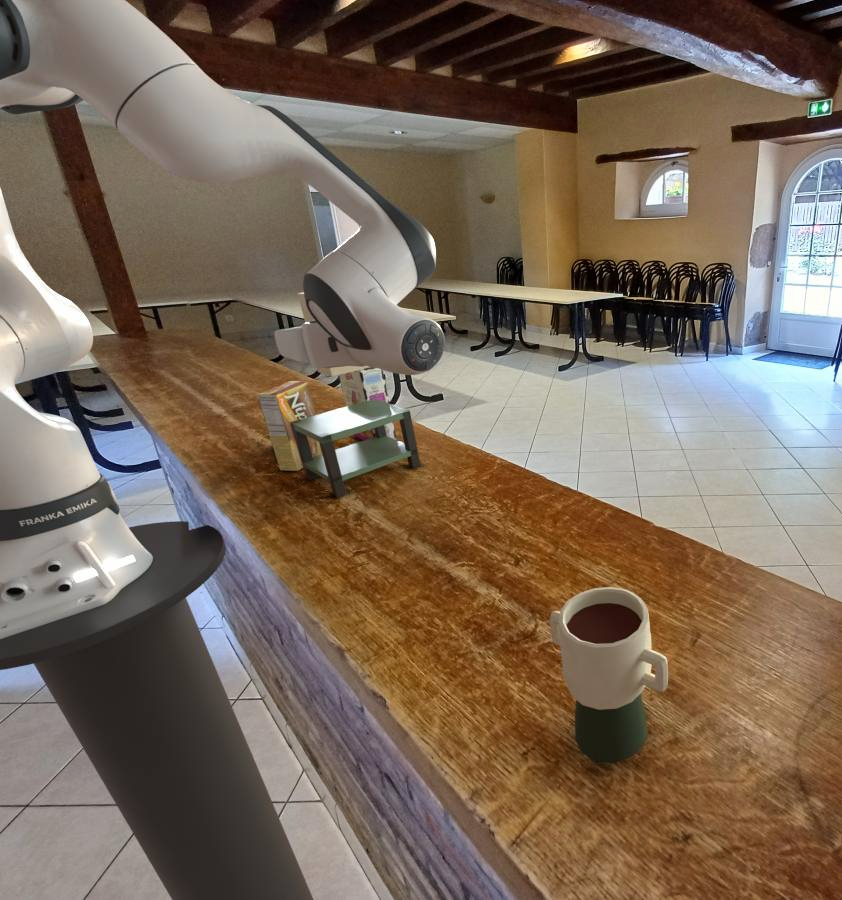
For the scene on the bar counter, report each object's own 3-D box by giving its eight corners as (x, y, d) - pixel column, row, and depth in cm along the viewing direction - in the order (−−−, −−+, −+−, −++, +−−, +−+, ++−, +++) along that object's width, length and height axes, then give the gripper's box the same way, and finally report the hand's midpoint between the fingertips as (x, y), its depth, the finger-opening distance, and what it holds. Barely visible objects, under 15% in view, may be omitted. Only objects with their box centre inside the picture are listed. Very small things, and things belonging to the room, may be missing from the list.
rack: (337, 497, 93) (321, 437, 89) (306, 478, 102) (289, 422, 97) (420, 465, 104) (409, 410, 100) (386, 450, 112) (375, 398, 108)
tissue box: (332, 376, 90) (311, 293, 85) (317, 372, 93) (297, 292, 88) (364, 369, 94) (346, 289, 89) (349, 365, 97) (331, 288, 92)
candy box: (308, 453, 113) (288, 380, 107) (327, 453, 113) (307, 380, 107) (279, 471, 105) (255, 394, 99) (299, 471, 105) (276, 394, 99)
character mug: (687, 733, 47) (688, 611, 42) (646, 802, 42) (642, 672, 37) (583, 683, 53) (574, 570, 48) (536, 738, 48) (519, 617, 43)
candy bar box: (399, 440, 117) (383, 364, 111) (377, 448, 114) (359, 370, 108) (373, 430, 124) (357, 358, 118) (352, 436, 121) (334, 363, 115)
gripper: (425, 304, 88) (382, 300, 97) (292, 326, 75) (257, 319, 83) (432, 343, 91) (389, 336, 100) (304, 371, 77) (268, 360, 86)
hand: (328, 328), depth 91 cm, fingers closed on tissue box, 5 cm apart
